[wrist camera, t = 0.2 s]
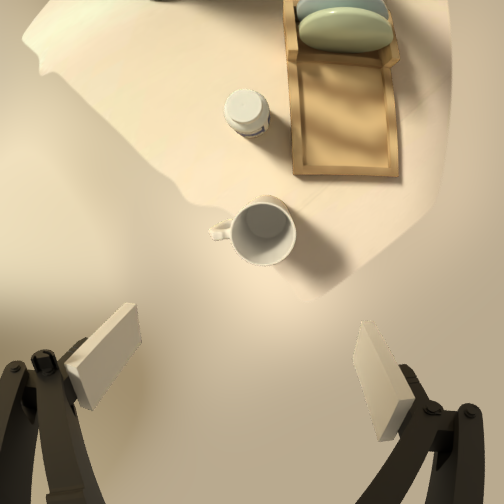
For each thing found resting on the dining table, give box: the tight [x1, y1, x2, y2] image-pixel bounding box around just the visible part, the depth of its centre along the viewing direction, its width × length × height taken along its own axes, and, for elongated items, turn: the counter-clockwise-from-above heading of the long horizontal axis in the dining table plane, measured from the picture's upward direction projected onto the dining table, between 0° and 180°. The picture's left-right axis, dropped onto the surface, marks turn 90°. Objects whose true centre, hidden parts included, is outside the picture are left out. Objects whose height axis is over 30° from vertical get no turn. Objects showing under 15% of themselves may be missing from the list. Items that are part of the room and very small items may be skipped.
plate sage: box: [299, 7, 393, 53], centre depth 27 cm, size 1×12×12 cm, turn 93°
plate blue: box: [297, 0, 389, 22], centre depth 26 cm, size 1×12×12 cm, turn 92°
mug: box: [209, 195, 296, 266], centre depth 36 cm, size 10×7×12 cm, turn 96°
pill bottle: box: [224, 89, 270, 138], centre depth 33 cm, size 5×5×10 cm
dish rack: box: [283, 0, 400, 177], centre depth 33 cm, size 25×15×6 cm, turn 3°
